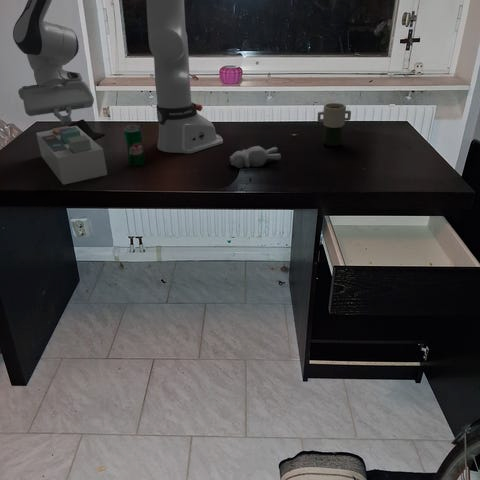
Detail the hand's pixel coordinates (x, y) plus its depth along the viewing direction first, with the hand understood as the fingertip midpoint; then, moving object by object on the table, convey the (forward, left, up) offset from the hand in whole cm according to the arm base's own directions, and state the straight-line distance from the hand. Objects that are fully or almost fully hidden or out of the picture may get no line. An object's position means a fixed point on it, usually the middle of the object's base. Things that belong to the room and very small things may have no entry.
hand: (66, 122), depth 148 cm
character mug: (-77, +32, -14) cm, 85 cm away
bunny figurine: (-46, +32, -14) cm, 58 cm away
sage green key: (0, +10, -7) cm, 12 cm away
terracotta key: (0, -10, -9) cm, 13 cm away
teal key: (0, 0, -7) cm, 7 cm away
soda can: (-16, +11, -14) cm, 24 cm away
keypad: (+1, 0, -13) cm, 13 cm away
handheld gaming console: (-10, -24, -14) cm, 29 cm away
